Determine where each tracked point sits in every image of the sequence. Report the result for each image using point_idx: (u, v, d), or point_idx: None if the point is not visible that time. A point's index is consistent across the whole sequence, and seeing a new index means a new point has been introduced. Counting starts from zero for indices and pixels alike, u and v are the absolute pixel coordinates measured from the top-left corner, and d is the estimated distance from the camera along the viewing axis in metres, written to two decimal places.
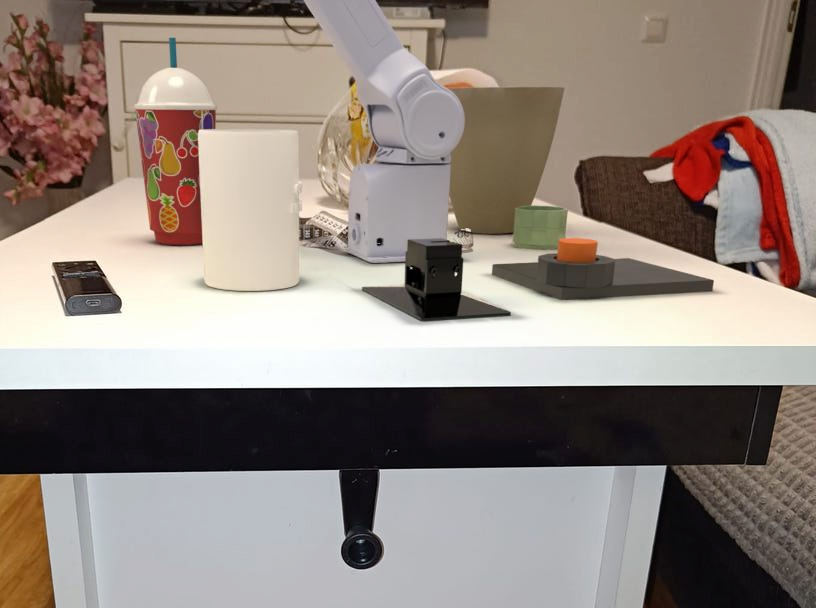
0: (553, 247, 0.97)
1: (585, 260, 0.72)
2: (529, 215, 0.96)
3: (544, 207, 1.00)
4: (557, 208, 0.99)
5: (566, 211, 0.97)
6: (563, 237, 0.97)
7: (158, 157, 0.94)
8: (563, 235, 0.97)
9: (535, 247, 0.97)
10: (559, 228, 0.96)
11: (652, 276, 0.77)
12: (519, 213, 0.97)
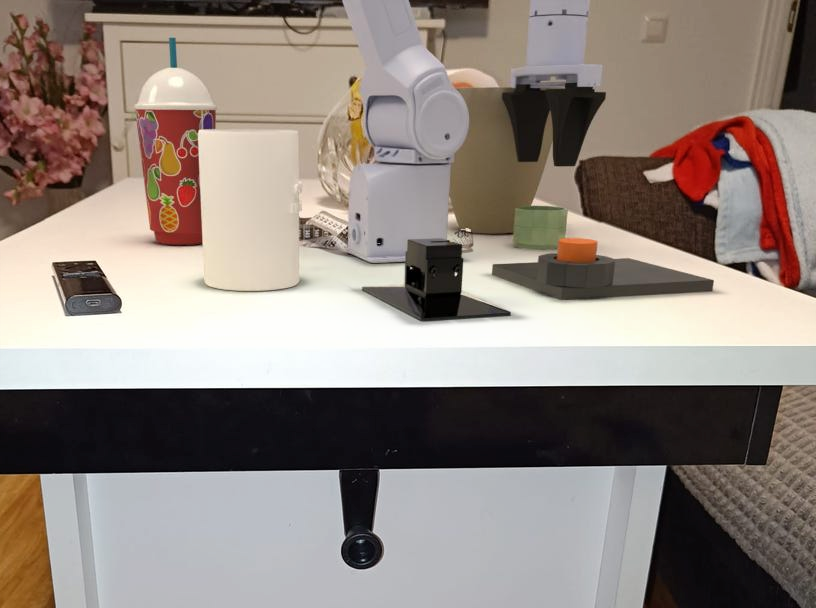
0: (553, 247, 0.97)
1: (585, 260, 0.72)
2: (529, 215, 0.96)
3: (544, 207, 1.00)
4: (557, 208, 0.99)
5: (566, 211, 0.97)
6: (563, 237, 0.97)
7: (158, 157, 0.94)
8: (563, 235, 0.97)
9: (535, 247, 0.97)
10: (559, 228, 0.96)
11: (652, 276, 0.77)
12: (519, 213, 0.97)
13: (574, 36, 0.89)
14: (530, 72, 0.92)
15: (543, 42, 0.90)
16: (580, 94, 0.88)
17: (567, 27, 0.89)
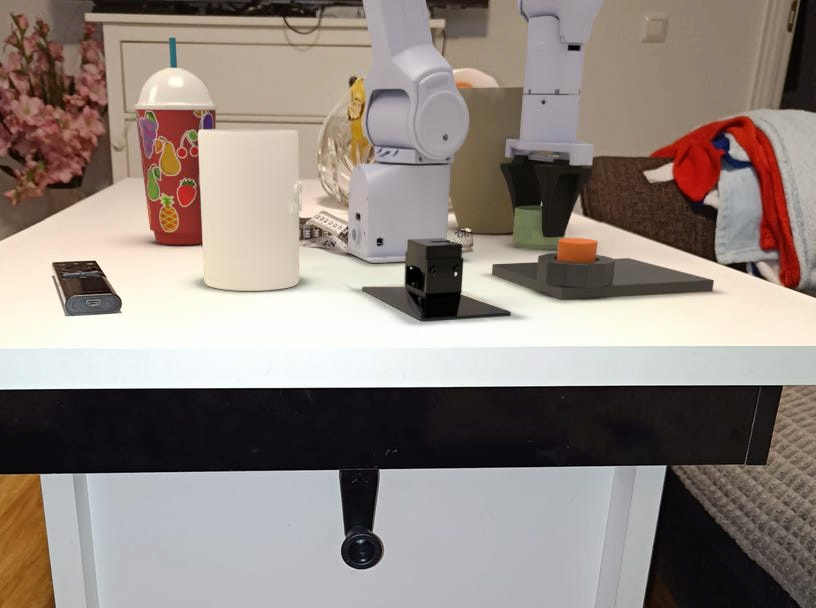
0: (553, 247, 0.97)
1: (585, 260, 0.72)
2: (529, 215, 0.96)
3: None
4: None
5: None
6: (563, 237, 0.98)
7: (158, 157, 0.94)
8: None
9: (535, 247, 0.97)
10: None
11: (652, 276, 0.77)
12: (519, 213, 0.97)
13: (566, 114, 0.92)
14: (524, 147, 0.94)
15: (536, 120, 0.93)
16: (568, 171, 0.92)
17: (559, 106, 0.92)
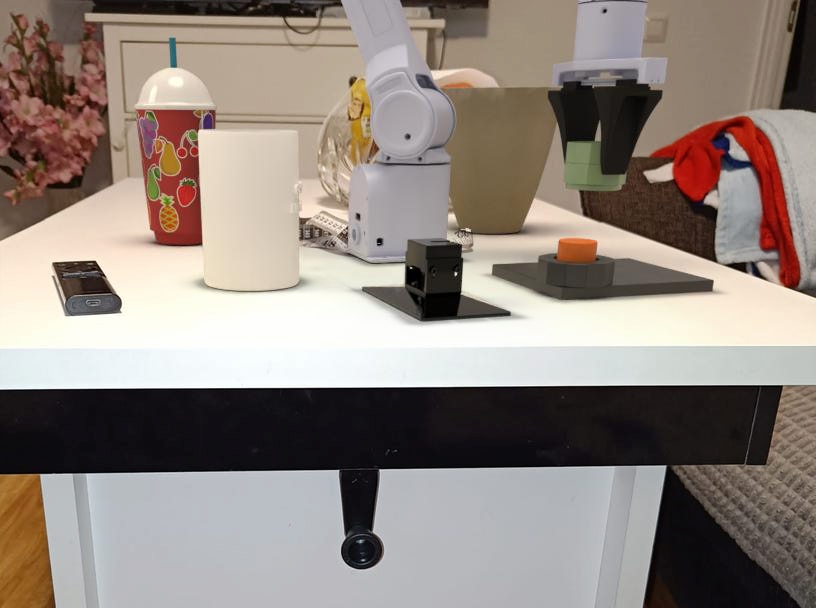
0: (612, 187, 0.83)
1: (585, 260, 0.72)
2: (585, 148, 0.81)
3: (600, 142, 0.85)
4: None
5: None
6: (624, 176, 0.83)
7: (158, 157, 0.94)
8: None
9: (592, 187, 0.83)
10: None
11: (652, 276, 0.77)
12: (572, 147, 0.82)
13: (632, 25, 0.77)
14: (580, 67, 0.80)
15: (596, 32, 0.78)
16: (634, 92, 0.77)
17: (624, 15, 0.77)
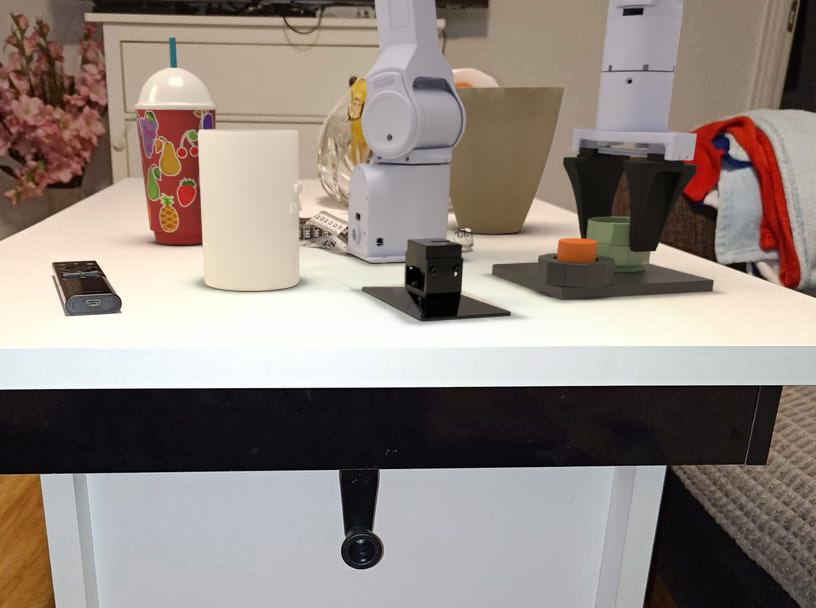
0: (636, 268, 0.79)
1: (585, 260, 0.72)
2: (608, 229, 0.78)
3: (622, 219, 0.81)
4: None
5: None
6: (648, 256, 0.79)
7: (158, 157, 0.94)
8: (648, 254, 0.79)
9: (614, 268, 0.79)
10: None
11: (652, 276, 0.77)
12: (594, 226, 0.79)
13: (659, 96, 0.73)
14: (602, 138, 0.75)
15: (620, 103, 0.74)
16: (667, 168, 0.72)
17: (650, 86, 0.73)
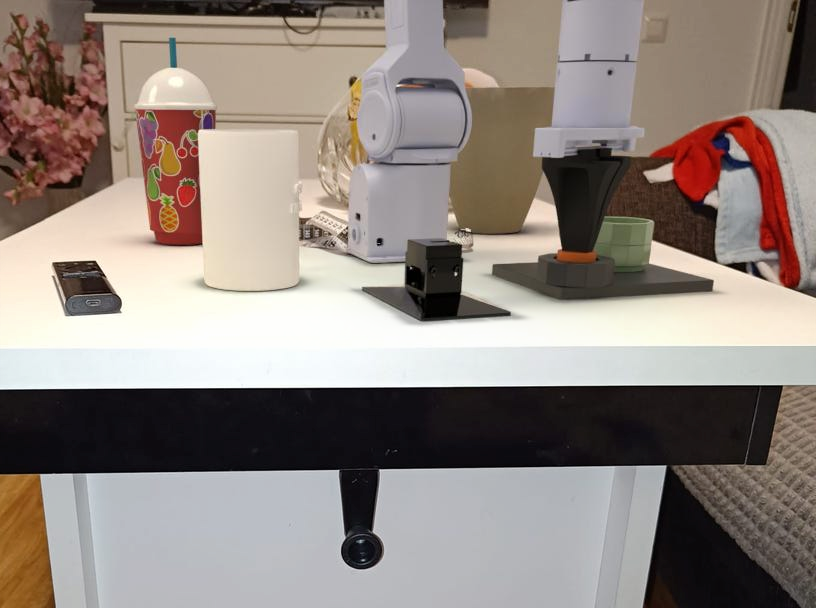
0: (636, 268, 0.79)
1: None
2: (608, 229, 0.78)
3: (622, 219, 0.81)
4: (639, 220, 0.81)
5: (652, 224, 0.78)
6: (648, 256, 0.79)
7: (158, 157, 0.94)
8: (648, 254, 0.79)
9: (614, 268, 0.79)
10: (644, 245, 0.78)
11: (652, 276, 0.77)
12: None
13: (582, 88, 0.67)
14: None
15: (554, 97, 0.69)
16: (567, 164, 0.69)
17: (573, 77, 0.67)
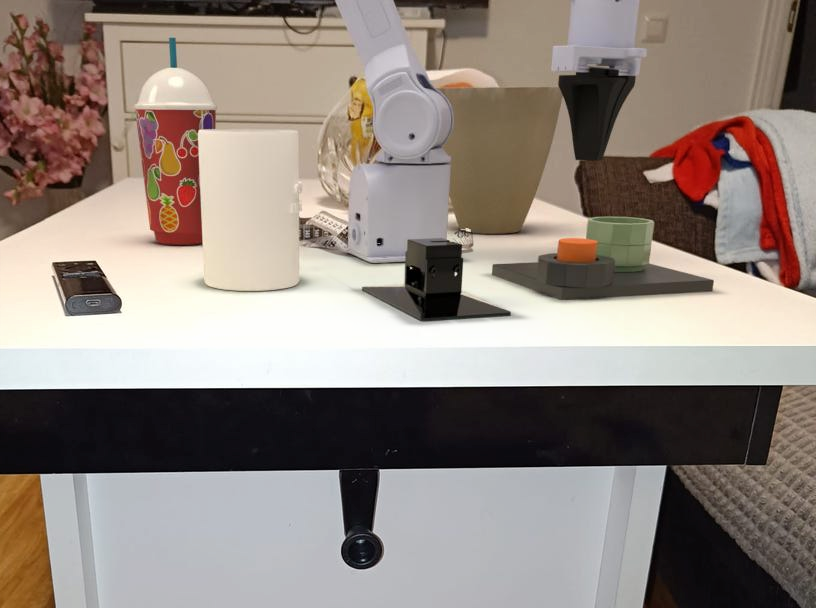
0: (636, 268, 0.79)
1: (585, 260, 0.72)
2: (608, 229, 0.78)
3: (622, 219, 0.81)
4: (639, 220, 0.81)
5: (652, 224, 0.78)
6: (648, 256, 0.79)
7: (158, 157, 0.94)
8: (648, 254, 0.79)
9: (614, 268, 0.79)
10: (644, 245, 0.78)
11: (652, 276, 0.77)
12: (594, 226, 0.79)
13: (593, 13, 0.78)
14: None
15: (569, 23, 0.81)
16: (580, 81, 0.81)
17: (585, 5, 0.79)
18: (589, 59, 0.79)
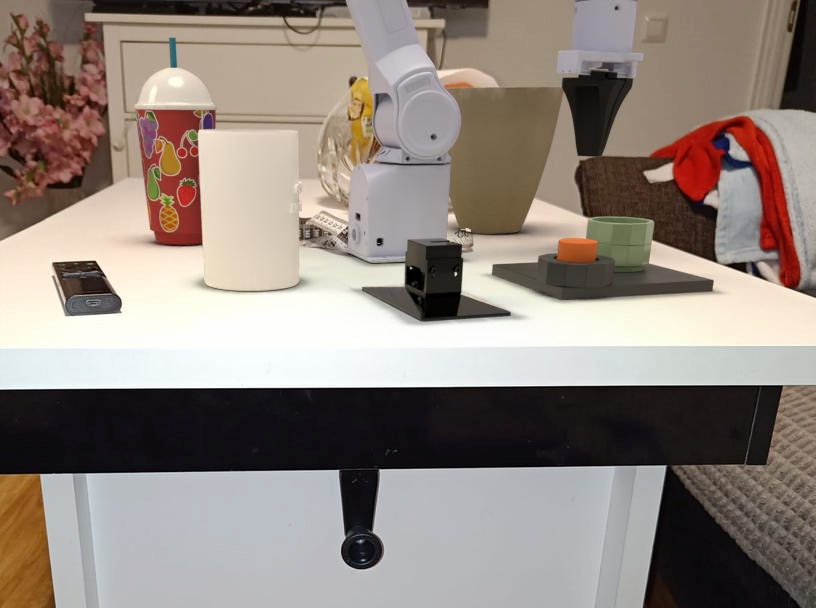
0: (636, 268, 0.79)
1: (585, 260, 0.72)
2: (608, 229, 0.78)
3: (622, 219, 0.81)
4: (639, 220, 0.81)
5: (652, 224, 0.78)
6: (648, 256, 0.79)
7: (158, 157, 0.94)
8: (648, 254, 0.79)
9: (614, 268, 0.79)
10: (644, 245, 0.78)
11: (652, 276, 0.77)
12: (594, 226, 0.79)
13: (594, 21, 0.85)
14: None
15: (572, 30, 0.88)
16: (582, 83, 0.88)
17: (587, 13, 0.86)
18: (591, 63, 0.86)
